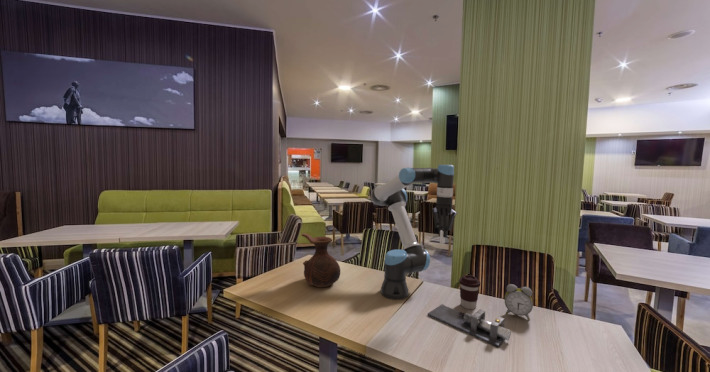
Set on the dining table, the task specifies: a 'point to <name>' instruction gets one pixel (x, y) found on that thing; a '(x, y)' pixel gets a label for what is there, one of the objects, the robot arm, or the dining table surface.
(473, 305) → the coffee cup
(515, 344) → the dining table surface
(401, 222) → the robot arm
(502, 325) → the grey holder stand
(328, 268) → the jug
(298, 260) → the dining table surface
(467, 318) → the tube
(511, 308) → the alarm clock
